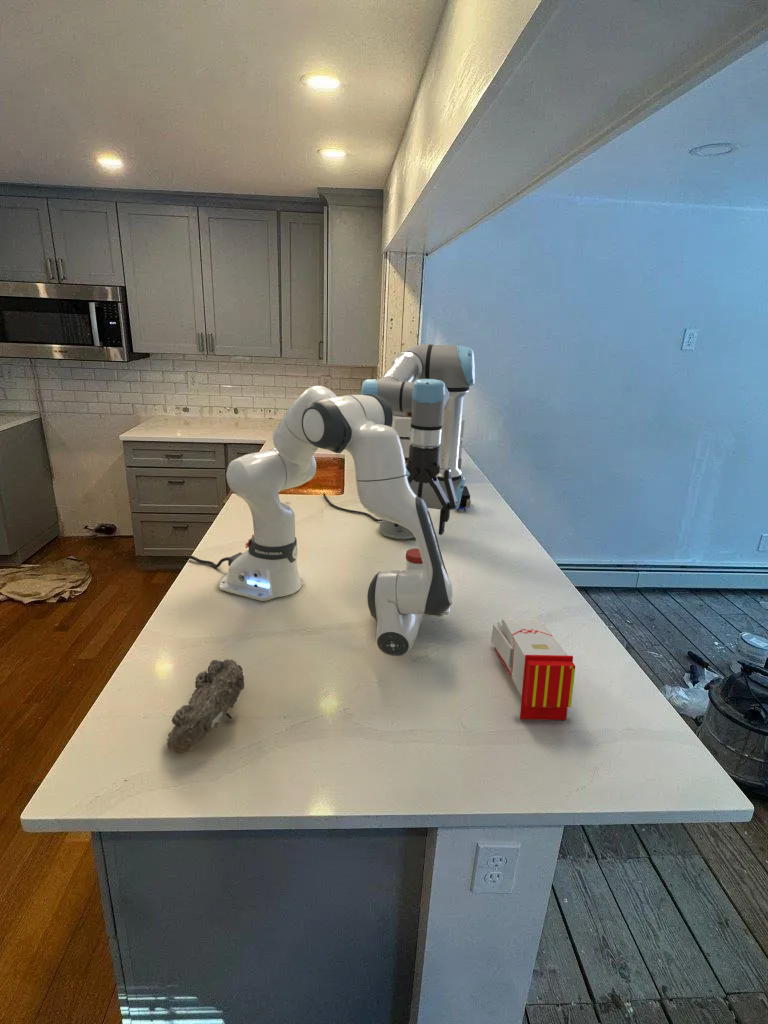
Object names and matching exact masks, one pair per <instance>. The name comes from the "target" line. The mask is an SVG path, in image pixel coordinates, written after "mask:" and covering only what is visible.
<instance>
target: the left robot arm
mask: <svg viewBox="0 0 768 1024" xmlns="http://www.w3.org/2000/svg"><path fill="white" fill-rule="evenodd" d="M392 422H393V414H392V410H391V407H390V405H389V404H388V402H387V401H386V400H385V399H384V398H382V397H380V396H377V395H372V394H364V395H361V394H345V395H338V396H337V394H336V393H335V392H333V391H332V390H331V389H330V388H328V387H326V386H323V385H313V386H311V387H308V388H307V389H306V390H304V391H303V392H302V393H301V394H299V396H298V397H297V398H296V399H295V400H294V401H293V403H292V404H291V405H290V406H289V408H288V409H287V411H286V413H284V415H283V416H282V417H281V419H280V421H279V422H278V424H277V425H276V427H275V428H274V430H273V432H272V441H273V446H274V447H273V448H271V449H268V450H263V451H257V452H251V453H247V454H244V455H242V456H240V457H237V458H235V459H233V460H231V461H230V462H229V464H228V466H227V468H226V473H225V475H226V478H225V479H226V483H227V485H228V487H229V489H230V490H231V492H233V493H234V494H235V495H236V496H238V497H239V498H241V499H242V500H243V501H244V502H245V503H246V504H247V507H248V508H249V510H250V513H251V516H252V525H253V526H252V527H253V534H252V535H251V538H249V539H248V540H247V542H246V543H245V549H247V548H248V549H247V550H246V551H244V552H237V553H236V554H233V555H231V556H227V557H223V558H221V559H220V560H219V561H218V562H217V564H216V563H214V562H213V561H210V560H203V559H200V558H198V557H196V556H194V555H187V556H186V557H185V558H184V560H185V561H187V560H190V559H191V560H193V561H195V562H197V563H200V564H205V565H209V566H212V567H213V568H214V569H215V568H216V569H218V568H219V567H221V565H223V562H228V563H227V564H228V565H227V566H229V567H228V570H227V573H226V574H225V575H224V576H223V577H222V578H221V579H220V581H219V590H220V591H223V592H227V593H230V594H233V595H234V594H235V595H238V596H241V597H246V598H249V599H253V600H256V601H261V602H267V601H270V600H272V599H277V598H281V597H287V596H290V595H293V594H295V593H297V592H298V591H299V590H300V589H301V587H302V584H303V583H302V580H301V577H300V573H299V569H298V562H297V558H298V540H297V537H296V514H295V511H294V510H293V509H292V508H291V507H290V506H289V505H288V504H286V503H283V502H281V501H280V496H279V495H280V492H281V491H285V490H289V489H293V488H297V487H300V486H302V485H304V484H306V483H307V482H310V481H311V480H313V479H314V477H315V476H316V473H317V460H316V458H315V453H316V452H317V450H318V449H322V450H327V451H330V452H333V453H336V454H341V453H343V452H344V451H347V452H348V453H349V454H350V455H351V457H352V459H353V463H354V470H355V471H354V474H355V482H356V490H357V495H358V499H359V503H360V504H361V505H362V507H363V508H364V509H365V510H366V511H367V513H369V514H370V515H372V516H373V517H375V518H376V517H377V519H383V520H387V521H390V522H393V523H396V524H399V525H401V526H404V527H405V528H407V529H409V530H410V531H411V532H412V533H413V534H414V536H415V541H416V544H417V547H418V549H419V551H420V554H421V558H422V561H423V565H424V569H423V570H408V571H406V570H399V569H398V570H397V569H396V570H380V571H378V572H377V573H376V574H375V575H374V576H373V578H372V579H371V581H370V582H369V585H368V589H367V596H366V597H367V598H366V599H367V607H368V610H369V613H370V616H371V618H373V619H374V621H375V622H376V623H377V626H376V627H377V629H376V635H375V641H376V646H377V648H378V650H380V651H381V652H382V653H384V655H385V654H386V655H388V656H391V657H402V656H404V655H406V654H407V653H408V652H409V651H411V649H412V647H413V645H415V642H416V639H417V636H418V634H419V630H420V629H419V628H420V626H421V623H422V620H423V617H424V616H432V617H437V618H438V617H439V618H440V617H443V616H447V615H449V614H450V611H451V608H450V607H451V606H452V605H453V599H454V588H453V584H452V582H451V579H450V577H449V574H448V571H447V569H446V565H445V562H444V559H443V556H442V552H441V551H442V550H441V548H440V543H439V540H438V536H437V534H436V530H435V526H434V523H433V520H432V517H431V513H430V511H429V508H427V505H426V503H425V502H424V500H423V499H422V498H420V497H417V496H416V495H415V493H414V492H413V491H412V489H411V487H410V485H409V482H408V478H407V470H406V463H405V457H404V453H403V448H402V445H401V441H400V438H399V435H398V433H397V432H396V430H395V429H393V428H392V427H391V426H392Z"/></svg>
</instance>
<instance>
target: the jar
mask: <svg viewBox="0 0 768 1024" xmlns="http://www.w3.org/2000/svg"><path fill="white" fill-rule="evenodd" d="M405 560H406V559H405ZM405 562H406V563H405V571H408V570H423V569H424V565H423V563H421V564H417V563H411V562H409V561H407V560H406V561H405Z"/></svg>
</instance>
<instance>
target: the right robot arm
mask: <svg viewBox="0 0 768 1024" xmlns="http://www.w3.org/2000/svg"><path fill="white" fill-rule="evenodd" d="M475 365H476V364H475V354H474V350H473V349H472V348H471V347H470V346H464V345H455V344H454V345H451V344H430V343H421V344H416V345H413V346H410V347H408V348H405V349H403V350H402V351H400V352H399V353H398V354H396V355H395V356H394V358H393V359H392V362H391V366H390V367H389V368H388V369H387V370H386V371H385V372H384V373H383V375H381V377H380V378H379V379H376V378H373V379H369V378H368V379H365V380H364V381H363V382H362V385H361V391H360V392H361V393H360V395H364V394H372V395H377V396H380V397H382V398H384V399H385V400H386V401H387V402H388V404H389V405H390V407H391V410H392V411H402V412H412V415H411V429H410V443H411V445H410V446H409V461H408V463H406V470H407V478H408V482H409V485H410V487H411V489H412V491H413V492H414V493H415V495H416V496H417V497H420V498H422V499H423V500H424V502H425V503H426V505H427V508H428V509H433V510H440V512H439V523H438V535H440V536H442V535H443V534H444V532H445V528H446V523H448V522H449V520H450V514H451V511H453V512H454V511H457V509H458V507H459V504H460V501H461V496H462V492H463V488H464V486H465V483H466V478H465V477H464V476H462V475H463V474H462V469H461V470H460V469H459V468H458V456H459V445H460V439H461V438H460V433H461V421H462V419H463V408H464V398H465V395H467V394H468V393H469V392H470V387H472V386H474V385H475V379H476V376H475V375H476V367H475ZM322 495H323V497H324V499H325V501H326V502H327V503H328V504H329V505H330V506H331V507H332V508H335V509H338V510H340V511H344V512H348V513H353V514H361V515H365V516H367V517H368V518H370V519H371V520H373V521H375V522H379V527H378V533H379V534H380V535H381V536H382V537H385V538H387V539H389V540H395V541H410V540H416V538H415V536H414V534H413V533H412V532H411V531H410V530H409V529H407V528H405V527H404V526H401V525H399V524H396V523H393V522H390V521H387V520H383V519H381V518H376V517H375V516H374V515H372V514H371V513H369V512H365V511H359V510H353V509H348V508H345V507H340V506H337V505H335V504H334V503H332V502H331V501H330V500H329V499H328V497H327V495H326V493H325V492H322Z"/></svg>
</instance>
